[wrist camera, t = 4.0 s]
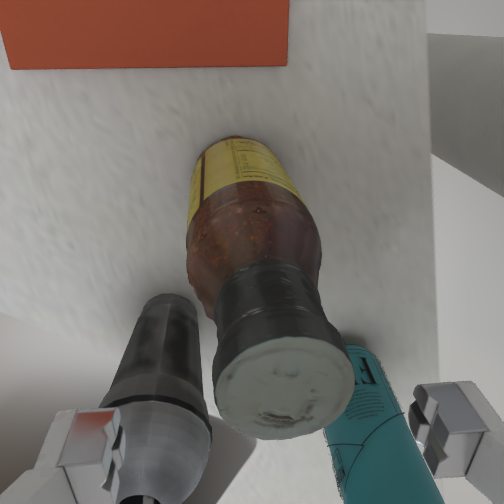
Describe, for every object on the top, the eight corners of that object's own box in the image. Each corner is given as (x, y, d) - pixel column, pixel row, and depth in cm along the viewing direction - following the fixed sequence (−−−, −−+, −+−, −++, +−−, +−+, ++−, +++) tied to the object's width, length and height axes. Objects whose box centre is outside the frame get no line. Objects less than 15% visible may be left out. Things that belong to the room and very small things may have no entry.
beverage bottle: (363, 321, 36) (501, 600, 19) (382, 369, 39) (515, 647, 22) (294, 347, 37) (364, 638, 20) (318, 393, 40) (397, 677, 23)
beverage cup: (106, 318, 34) (-10, 633, 16) (164, 263, 32) (101, 558, 14) (174, 362, 37) (137, 669, 19) (231, 314, 35) (247, 611, 17)
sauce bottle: (236, 232, 31) (264, 502, 14) (173, 176, 28) (108, 419, 11) (302, 173, 29) (432, 397, 12) (240, 107, 26) (290, 268, 9)
